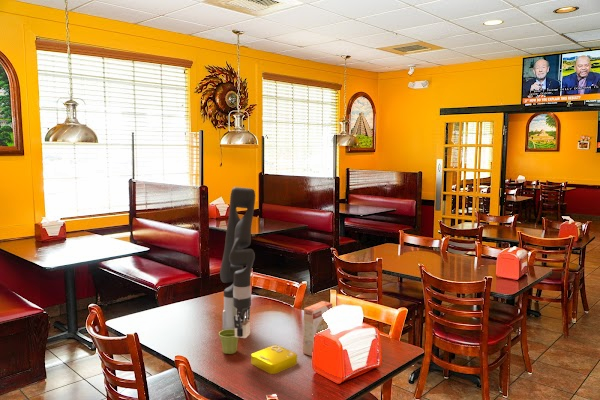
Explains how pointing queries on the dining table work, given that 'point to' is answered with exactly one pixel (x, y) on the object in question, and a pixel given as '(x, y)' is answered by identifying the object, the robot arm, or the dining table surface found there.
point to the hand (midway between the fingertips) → (242, 333)
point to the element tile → (274, 359)
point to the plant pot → (228, 341)
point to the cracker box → (313, 324)
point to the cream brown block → (244, 329)
